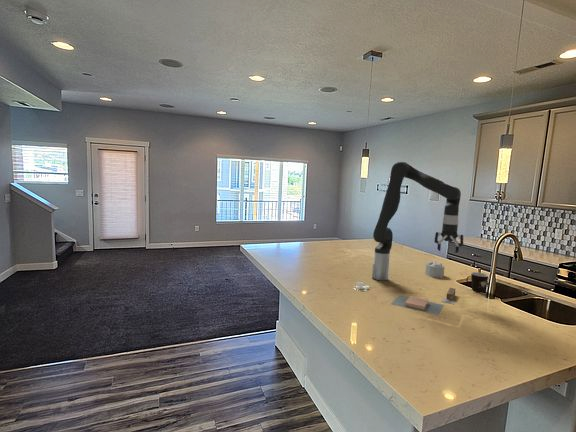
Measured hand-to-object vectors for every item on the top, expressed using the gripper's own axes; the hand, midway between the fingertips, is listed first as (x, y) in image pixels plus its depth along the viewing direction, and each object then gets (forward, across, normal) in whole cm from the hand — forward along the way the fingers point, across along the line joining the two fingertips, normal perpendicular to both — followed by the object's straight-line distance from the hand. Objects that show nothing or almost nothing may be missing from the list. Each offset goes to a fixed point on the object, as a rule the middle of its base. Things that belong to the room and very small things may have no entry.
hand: (447, 251), depth 178 cm
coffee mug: (+24, +14, +18) cm, 33 cm away
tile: (+22, -8, -25) cm, 35 cm away
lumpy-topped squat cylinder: (+24, -12, +38) cm, 47 cm away
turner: (+24, +4, -9) cm, 26 cm away
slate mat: (+24, -8, -30) cm, 39 cm away
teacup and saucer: (+25, -38, -25) cm, 52 cm away
